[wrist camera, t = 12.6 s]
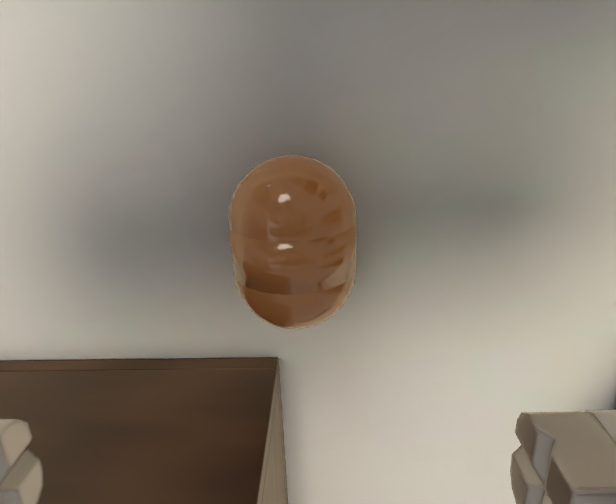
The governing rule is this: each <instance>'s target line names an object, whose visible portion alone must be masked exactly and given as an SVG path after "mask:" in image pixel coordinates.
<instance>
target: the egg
mask: <svg viewBox="0 0 616 504" xmlns="http://www.w3.org/2000/svg"><path fill="white" fill-rule="evenodd" d="M229 234H230V244H231V254H232V264H233V274H234V279H235V284H236V287H237V290H238V292H239V294H240V296H241V299H242V300H243V301H244V303H245V304H246V305H247V307H248V308H249V309H250V310H251V311H252V312H253V313H254V314H255V315H257V316H258V317H259V318H260V319H262V320H263V321H265V322H268V323H270V324H272V325H275V326H277V327H281V328H287V329H303V328H309V327H312V326H315V325H318V324H320V323H322V322H324V321H326V320H327V319H329V318H330V317H332V316H333V315H334V314H335V313H336V312H337V311H338V310H339V309H340V308H341V307H342V306H343V305H344V303H345V302H346V300H347V299H348V297H349V295H350V293H351V291H352V288H353V285H354V282H355V274H356V208H355V203H354V200H353V197H352V194H351V192H350V191H349V189H348V187H347V185H346V183H345V182H344V180H343V179H342V178H341V177H340V176H339V175H338V173H337V172H336V171H334V170H333V169H332V168H330V167H329V166H328V165H326V164H325V163H323V162H321V161H318V160H316V159H314V158H311V157H306V156H302V155H282V156H278V157H274V158H271V159H268V160H266V161H264V162H262V163H260V164H259V165H257V166H255V167H254V168H253V169H252V170H251V171H250V172H249V173H247V174H246V175H245V176H244V177H243V179H242V180H241V182H240V183H239V184H238V186H237V188H236V190H235V192H234V194H233V197H232V200H231V204H230V209H229Z"/></svg>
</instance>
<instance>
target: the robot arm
mask: <svg viewBox="0 0 616 504" xmlns="http://www.w3.org/2000/svg"><path fill="white" fill-rule="evenodd" d="M515 433H516V435H517V437H518V439H519V441H520V443H521V446H520V447H519V448H518V449H517V450H516V451H515V452H514V453H513V454H512V459H511V468H510V473H511V483H512V490H513V493H514V497H515V500H516V504H616V409H615V410H587V411H585V412H583V411H574V412H524V413H521V414H520V416H519V418H518V419H517V424H516V430H515ZM32 440H33V436H32V433H31V430H30V428H29V425H28V423H27V422H25V421H22V420H19V419H0V504H38V502H39V498H40V495H41V491H42V488H43V468H42V464H41V461H40V459H39V458H38V457H37V456H36V455H35V454H33V453H32V452H31V451H30V450H29V449H28V447H29V445H30V444H31V442H32Z"/></svg>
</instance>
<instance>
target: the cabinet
mask: <svg viewBox="0 0 616 504" xmlns="http://www.w3.org/2000/svg"><path fill="white" fill-rule="evenodd" d="M0 419H19V420H22V421H25V422H27V423H28V425H29V428H30V430H31V433H32V436H33V440H32V442H31V444H30V445H29V447H28V449H29V450H30V451H31V452H32V453H33V454H35V455H36V456H37V457H38V458H39V459H40V461H41V464H42V468H43V488H42V491H41V495H40V498H39V502H38V504H288V497H287V482H286V467H285V451H284V436H283V420H282V405H281V389H280V374H279V359H278V358H223V359H139V360H55V361H0Z"/></svg>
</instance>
